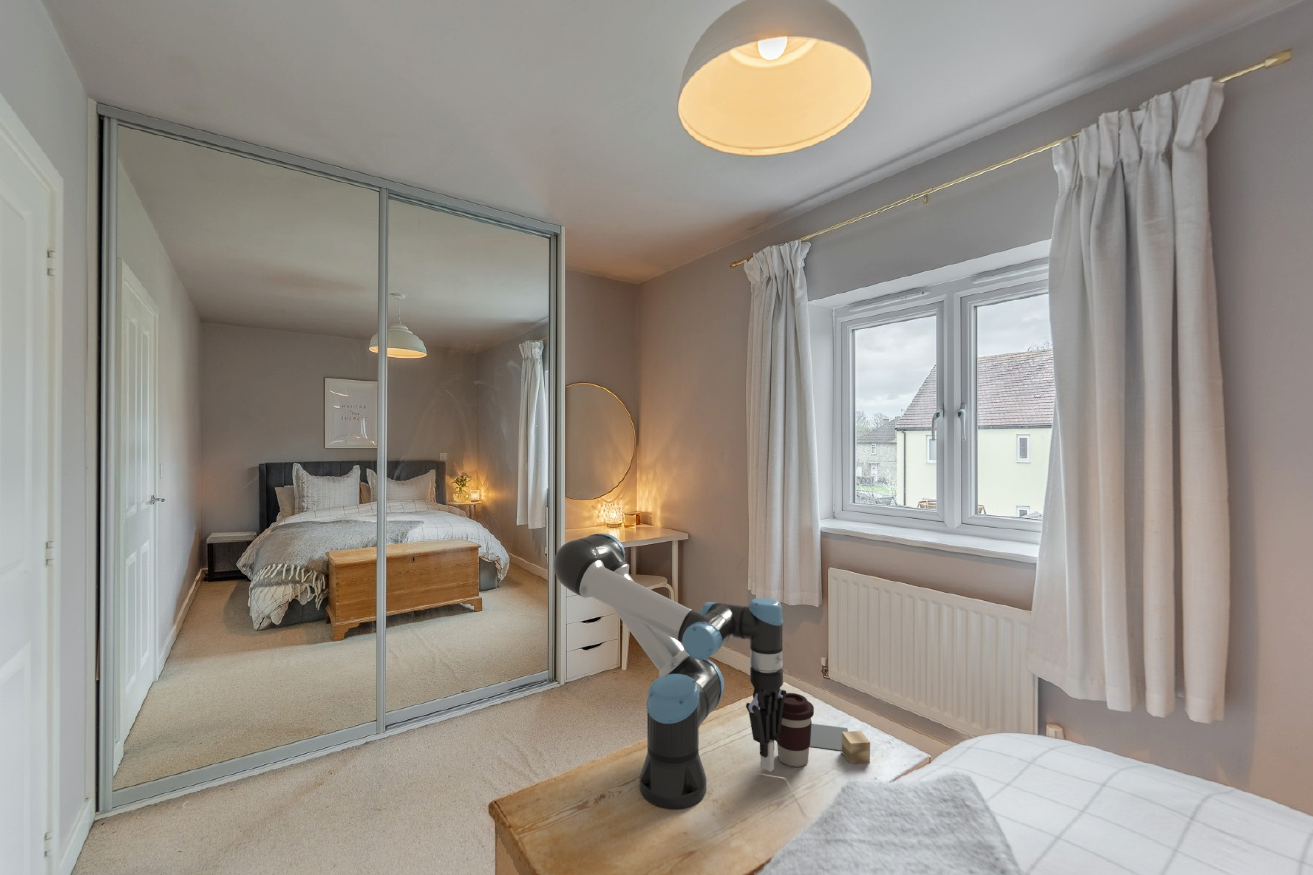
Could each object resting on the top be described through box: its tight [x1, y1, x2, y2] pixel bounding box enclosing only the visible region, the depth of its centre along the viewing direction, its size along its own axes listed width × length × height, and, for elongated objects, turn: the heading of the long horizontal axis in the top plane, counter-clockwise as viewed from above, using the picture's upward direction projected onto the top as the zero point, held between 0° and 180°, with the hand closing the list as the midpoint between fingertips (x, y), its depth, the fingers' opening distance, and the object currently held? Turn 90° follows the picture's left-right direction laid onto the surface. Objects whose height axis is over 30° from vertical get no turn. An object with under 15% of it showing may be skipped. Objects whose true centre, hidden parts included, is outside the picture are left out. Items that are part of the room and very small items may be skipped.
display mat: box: [809, 723, 849, 752], centre depth 151 cm, size 12×12×1 cm
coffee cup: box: [775, 692, 815, 768], centre depth 140 cm, size 10×10×15 cm
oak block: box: [841, 730, 871, 764], centre depth 141 cm, size 5×5×5 cm
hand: (767, 767), depth 132 cm, fingers closed
